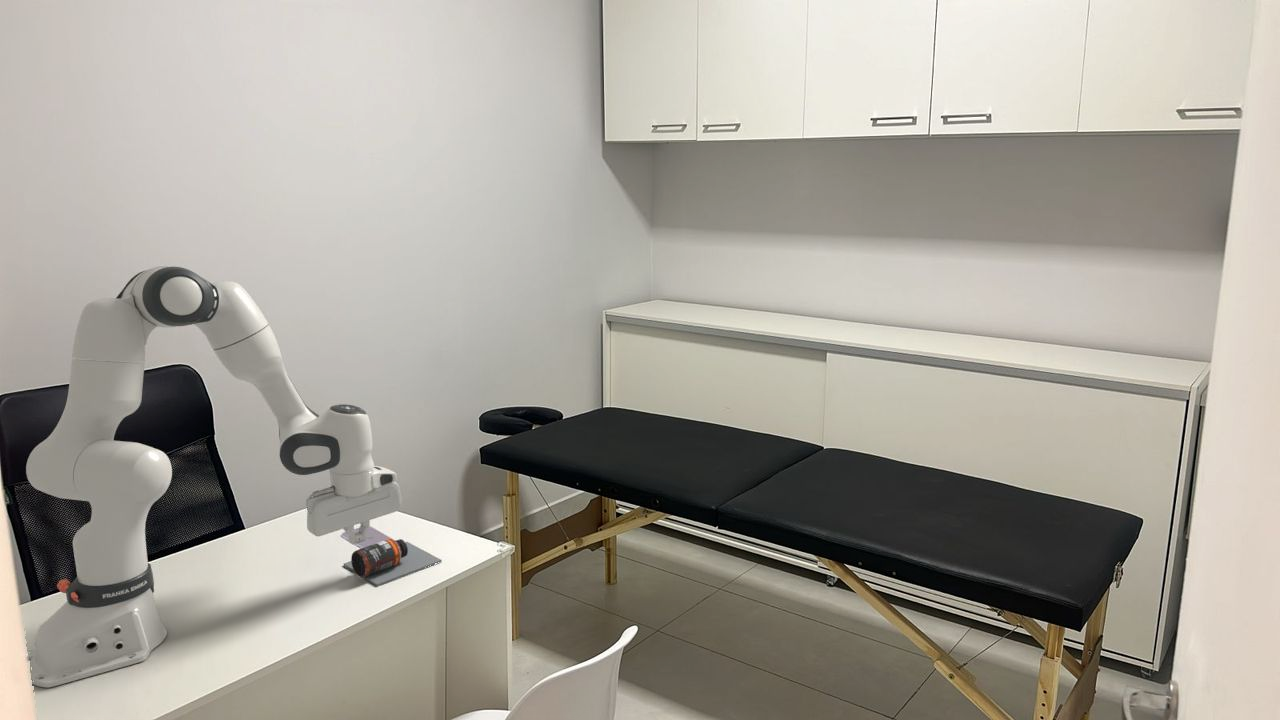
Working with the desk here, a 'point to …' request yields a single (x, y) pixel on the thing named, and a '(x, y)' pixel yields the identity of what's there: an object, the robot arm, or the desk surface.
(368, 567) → the supplement bottle
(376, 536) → the mobile phone
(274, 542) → the desk surface
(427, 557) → the mat
